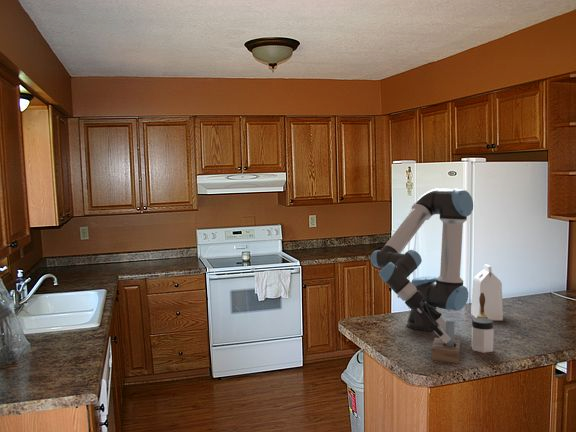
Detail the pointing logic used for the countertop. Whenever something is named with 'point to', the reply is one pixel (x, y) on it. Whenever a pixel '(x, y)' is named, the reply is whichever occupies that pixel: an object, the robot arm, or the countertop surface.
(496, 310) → the milk
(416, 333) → the countertop surface
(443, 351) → the hole block
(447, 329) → the peg
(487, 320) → the jar
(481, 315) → the hand bell
